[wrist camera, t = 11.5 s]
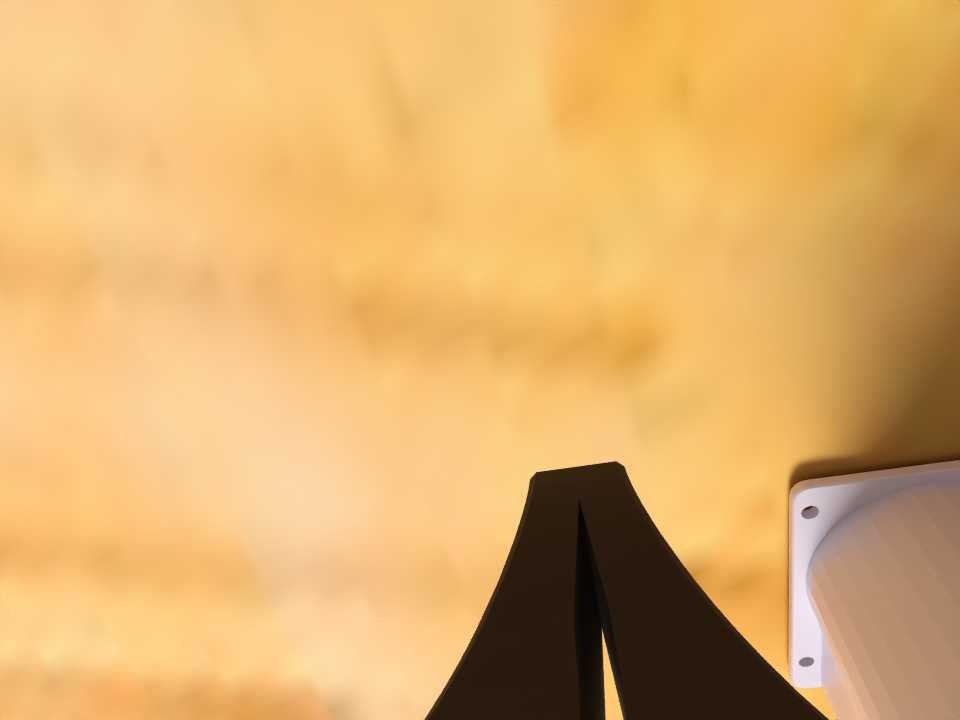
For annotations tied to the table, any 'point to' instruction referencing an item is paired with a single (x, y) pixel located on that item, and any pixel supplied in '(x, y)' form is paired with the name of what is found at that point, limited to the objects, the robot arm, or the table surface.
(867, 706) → the robot arm
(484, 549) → the table surface
